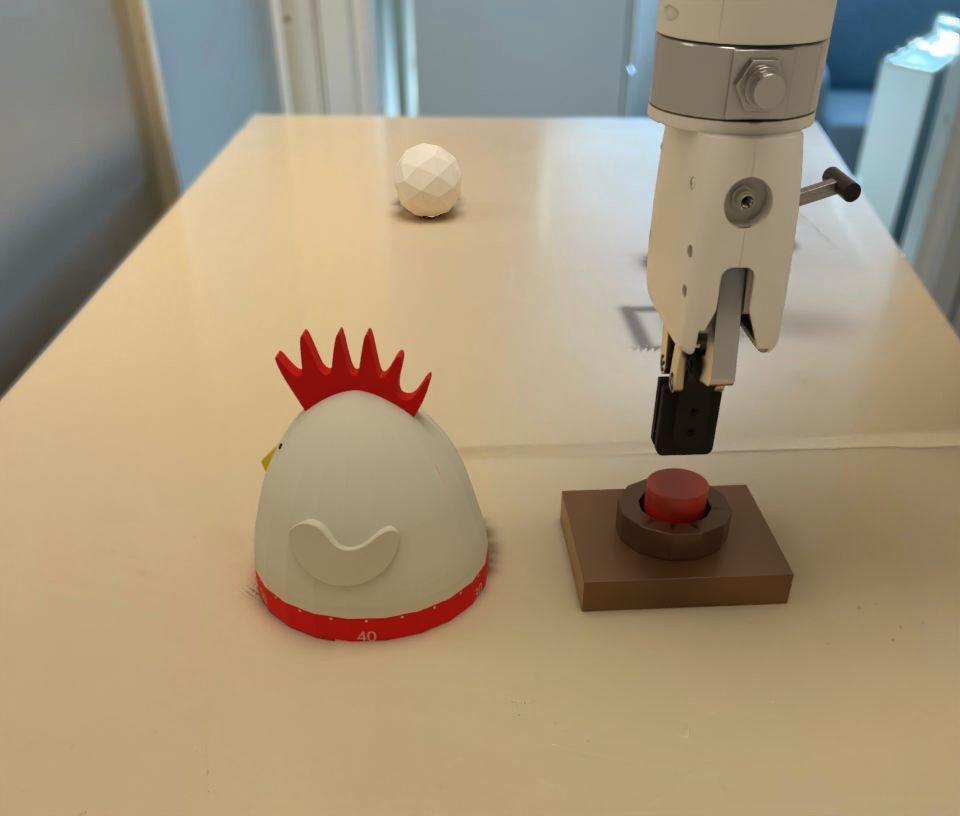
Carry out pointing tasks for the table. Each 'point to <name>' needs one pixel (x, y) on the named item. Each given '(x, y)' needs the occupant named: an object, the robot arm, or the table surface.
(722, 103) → the robot arm
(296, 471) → the kitchen timer
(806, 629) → the table surface
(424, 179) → the geometric ball
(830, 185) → the lever
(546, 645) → the table surface
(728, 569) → the control block
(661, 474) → the button
